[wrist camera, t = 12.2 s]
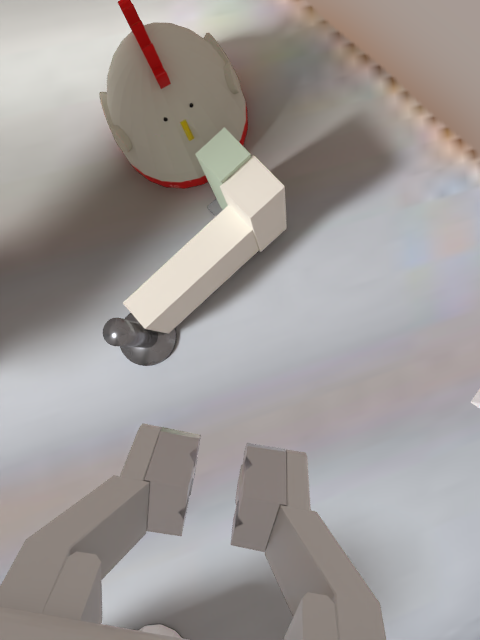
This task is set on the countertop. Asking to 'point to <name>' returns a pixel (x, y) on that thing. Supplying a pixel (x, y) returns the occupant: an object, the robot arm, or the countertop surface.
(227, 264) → the cream l-shaped block
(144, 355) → the hinge post
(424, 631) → the countertop surface
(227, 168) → the latch post
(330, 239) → the countertop surface
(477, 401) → the milk
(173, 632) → the white cup
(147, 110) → the kitchen timer
